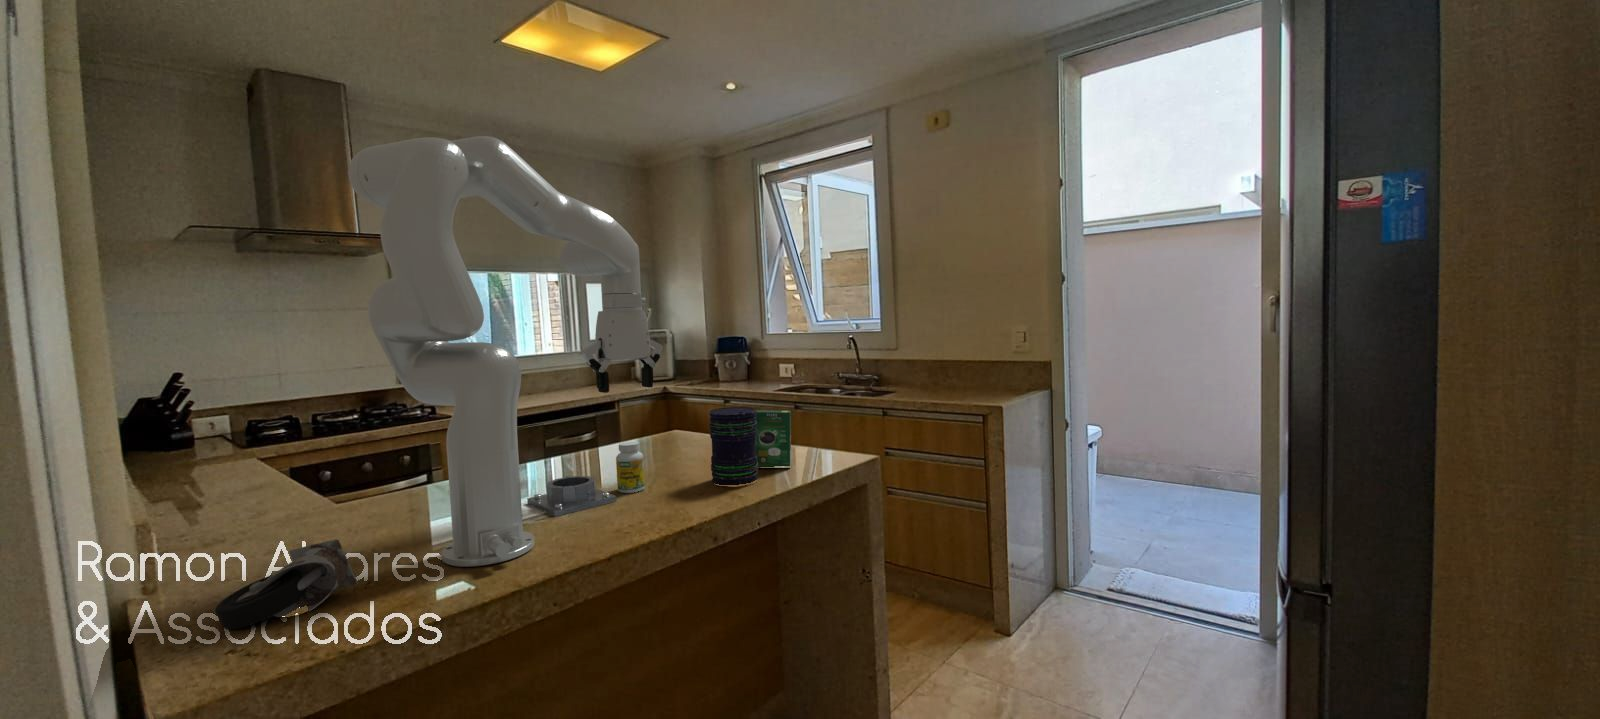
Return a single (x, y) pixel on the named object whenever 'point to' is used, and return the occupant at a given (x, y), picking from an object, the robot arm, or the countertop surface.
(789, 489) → the countertop surface
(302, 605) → the caster wheel
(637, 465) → the supplement bottle
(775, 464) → the coffee box
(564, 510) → the pipe flange
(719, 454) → the storage jar
